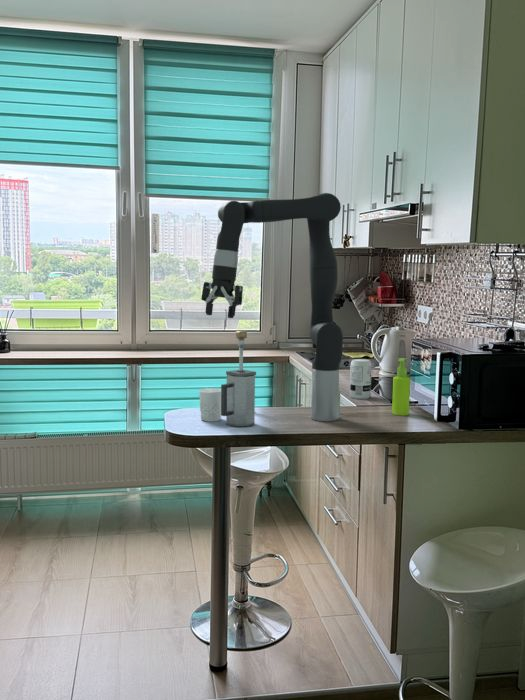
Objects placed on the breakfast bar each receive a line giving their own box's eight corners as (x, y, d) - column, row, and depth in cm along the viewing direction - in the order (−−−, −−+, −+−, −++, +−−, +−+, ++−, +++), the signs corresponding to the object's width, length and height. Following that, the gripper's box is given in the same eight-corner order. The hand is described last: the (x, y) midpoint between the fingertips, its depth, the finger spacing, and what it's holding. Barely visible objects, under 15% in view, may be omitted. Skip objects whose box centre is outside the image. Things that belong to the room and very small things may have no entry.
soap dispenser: (389, 415, 235) (392, 359, 232) (393, 411, 241) (395, 356, 239) (406, 416, 233) (408, 360, 230) (410, 412, 239) (412, 357, 237)
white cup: (219, 422, 221) (219, 392, 219) (196, 421, 222) (196, 391, 221) (225, 417, 228) (225, 388, 227) (203, 416, 230) (203, 387, 229)
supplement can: (347, 395, 270) (348, 358, 268) (367, 395, 271) (368, 358, 269) (352, 399, 262) (353, 361, 260) (372, 399, 263) (374, 361, 261)
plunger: (241, 391, 220) (241, 330, 217) (248, 392, 217) (249, 331, 215) (232, 392, 217) (233, 331, 215) (240, 394, 215) (240, 332, 212)
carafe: (243, 419, 226) (244, 368, 224) (262, 424, 219) (263, 371, 217) (213, 425, 217) (213, 372, 214) (232, 430, 210) (232, 375, 208)
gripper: (250, 268, 210) (244, 319, 211) (214, 265, 217) (209, 314, 219) (236, 265, 203) (230, 318, 205) (200, 262, 211) (194, 313, 212)
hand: (219, 316), depth 212 cm, fingers open, 8 cm apart
